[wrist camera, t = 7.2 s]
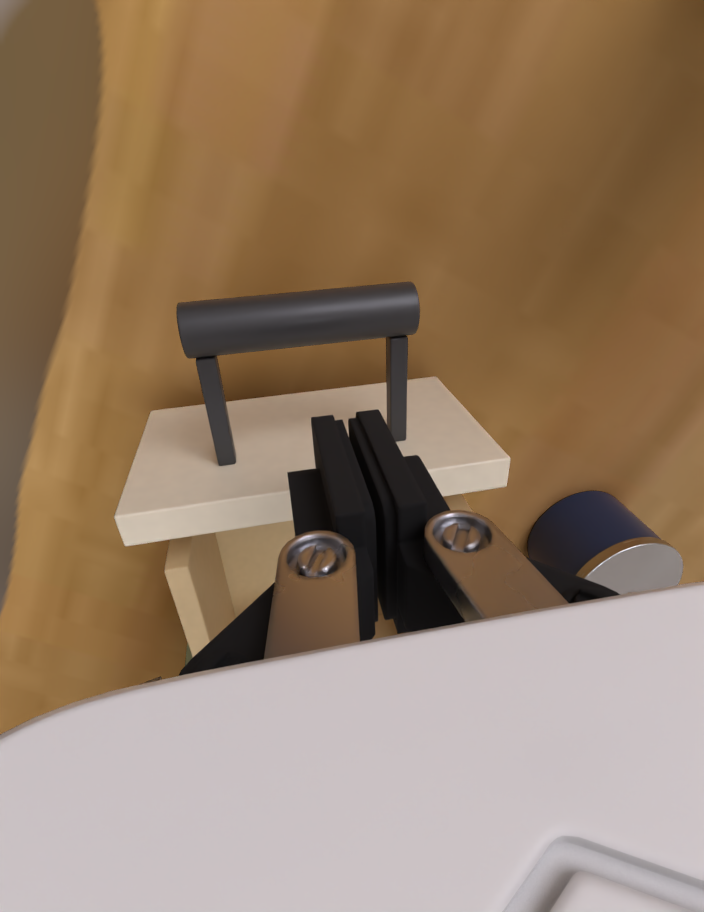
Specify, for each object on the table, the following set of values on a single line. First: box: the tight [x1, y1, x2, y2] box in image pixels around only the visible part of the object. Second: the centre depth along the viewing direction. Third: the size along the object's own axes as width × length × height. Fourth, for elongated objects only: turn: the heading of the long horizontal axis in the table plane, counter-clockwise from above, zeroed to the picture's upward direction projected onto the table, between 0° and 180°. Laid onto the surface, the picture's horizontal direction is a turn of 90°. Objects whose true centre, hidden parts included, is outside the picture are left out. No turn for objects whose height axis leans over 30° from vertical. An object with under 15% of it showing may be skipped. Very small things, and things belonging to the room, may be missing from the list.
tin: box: [527, 491, 683, 595], centre depth 29 cm, size 7×7×5 cm
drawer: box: [114, 282, 510, 657], centre depth 21 cm, size 20×13×7 cm, turn 3°
